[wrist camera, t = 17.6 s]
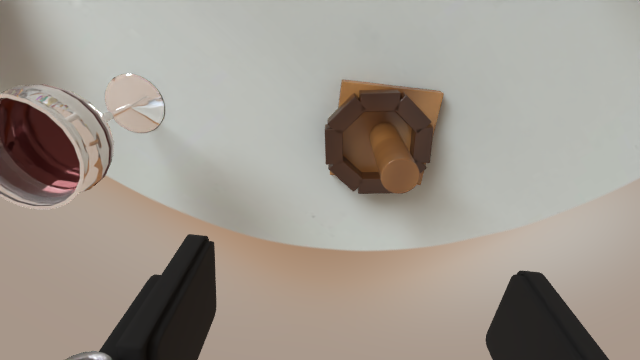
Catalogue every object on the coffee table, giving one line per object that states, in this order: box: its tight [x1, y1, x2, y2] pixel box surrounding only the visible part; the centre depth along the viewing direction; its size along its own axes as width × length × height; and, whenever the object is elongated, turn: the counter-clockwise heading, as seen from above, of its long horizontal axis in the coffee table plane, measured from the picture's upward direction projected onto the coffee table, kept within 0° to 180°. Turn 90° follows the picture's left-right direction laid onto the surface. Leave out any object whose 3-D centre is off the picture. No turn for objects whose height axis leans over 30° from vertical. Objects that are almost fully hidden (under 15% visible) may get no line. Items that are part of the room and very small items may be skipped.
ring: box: [325, 89, 433, 194], centre depth 29 cm, size 8×8×1 cm
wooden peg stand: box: [330, 80, 444, 193], centre depth 26 cm, size 8×8×9 cm
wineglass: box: [0, 74, 164, 209], centre depth 24 cm, size 7×7×12 cm
